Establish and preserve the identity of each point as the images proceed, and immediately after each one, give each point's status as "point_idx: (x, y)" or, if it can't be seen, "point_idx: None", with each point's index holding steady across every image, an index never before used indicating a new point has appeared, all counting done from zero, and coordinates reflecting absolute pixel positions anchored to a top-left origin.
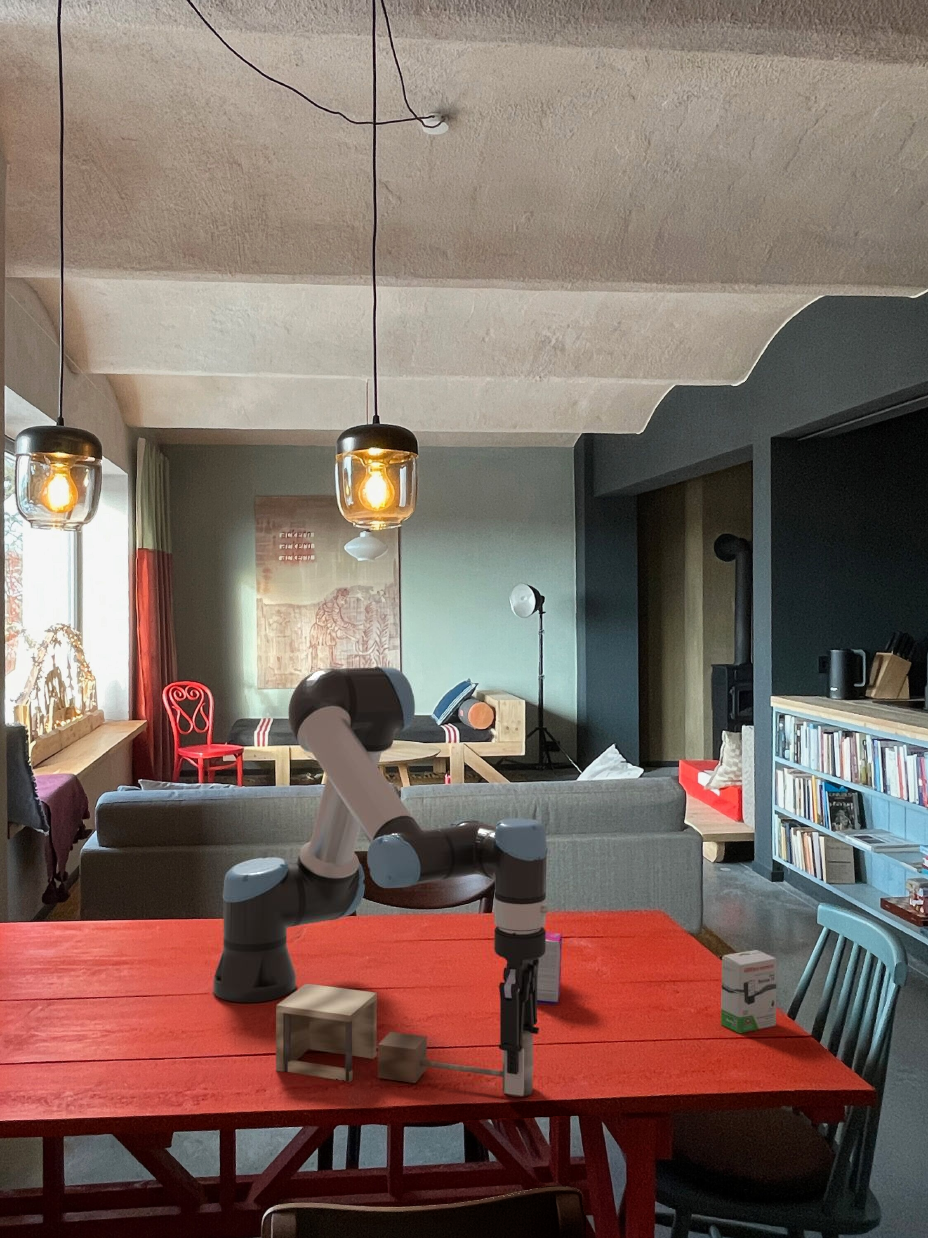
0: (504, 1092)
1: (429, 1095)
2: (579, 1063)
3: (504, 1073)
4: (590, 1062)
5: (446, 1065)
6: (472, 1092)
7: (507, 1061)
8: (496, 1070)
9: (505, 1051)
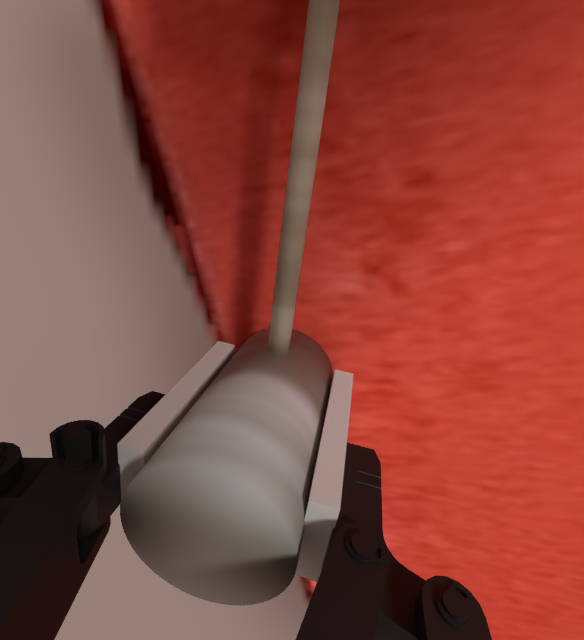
0: (217, 342)
1: (198, 34)
2: (532, 551)
3: (229, 364)
4: (539, 578)
5: (304, 62)
6: (262, 218)
7: (114, 422)
8: (278, 328)
9: (126, 436)
